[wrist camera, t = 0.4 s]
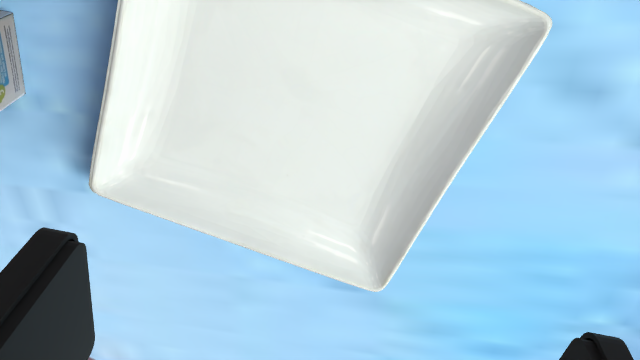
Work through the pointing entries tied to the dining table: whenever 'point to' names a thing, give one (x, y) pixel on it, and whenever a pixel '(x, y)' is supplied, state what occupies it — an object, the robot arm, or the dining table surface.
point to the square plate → (305, 118)
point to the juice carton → (9, 62)
